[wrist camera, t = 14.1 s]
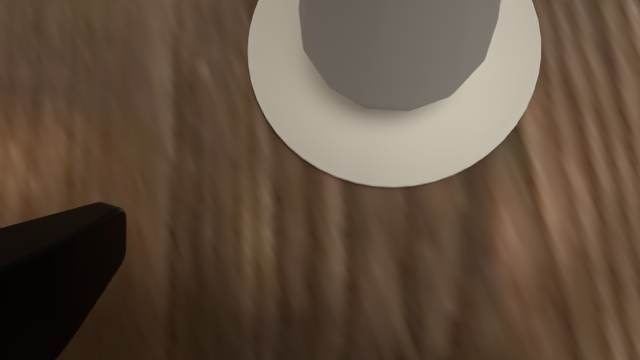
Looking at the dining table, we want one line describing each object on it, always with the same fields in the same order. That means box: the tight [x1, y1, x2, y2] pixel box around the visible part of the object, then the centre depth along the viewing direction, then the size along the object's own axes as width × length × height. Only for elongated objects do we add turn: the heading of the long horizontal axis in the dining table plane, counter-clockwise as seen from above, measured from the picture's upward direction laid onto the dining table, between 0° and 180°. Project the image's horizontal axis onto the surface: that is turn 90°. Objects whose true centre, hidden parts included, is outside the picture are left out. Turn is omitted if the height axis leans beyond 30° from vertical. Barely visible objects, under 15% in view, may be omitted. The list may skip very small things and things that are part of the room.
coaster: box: [248, 0, 541, 188], centre depth 18 cm, size 10×10×1 cm
